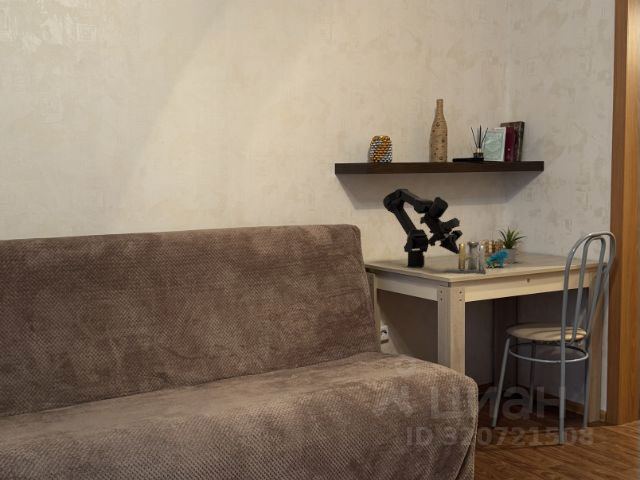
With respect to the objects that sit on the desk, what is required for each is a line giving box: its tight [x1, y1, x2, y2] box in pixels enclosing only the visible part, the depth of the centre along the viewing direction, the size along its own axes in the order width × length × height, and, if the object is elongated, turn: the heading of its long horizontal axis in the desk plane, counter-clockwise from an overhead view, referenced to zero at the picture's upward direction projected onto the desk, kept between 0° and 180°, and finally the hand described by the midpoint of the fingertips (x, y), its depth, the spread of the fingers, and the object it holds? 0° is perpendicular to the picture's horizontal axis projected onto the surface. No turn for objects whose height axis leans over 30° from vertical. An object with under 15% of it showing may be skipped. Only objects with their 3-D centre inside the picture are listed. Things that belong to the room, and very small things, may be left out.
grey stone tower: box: [466, 241, 486, 271], centre depth 320 cm, size 5×18×11 cm, turn 8°
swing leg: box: [457, 243, 473, 269], centre depth 318 cm, size 13×3×10 cm, turn 151°
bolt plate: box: [443, 267, 487, 275], centre depth 315 cm, size 16×6×1 cm, turn 76°
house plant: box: [496, 226, 528, 264], centre depth 348 cm, size 14×14×16 cm
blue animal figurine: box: [485, 249, 508, 269], centre depth 331 cm, size 11×6×10 cm
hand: (458, 253), depth 315 cm, fingers closed
